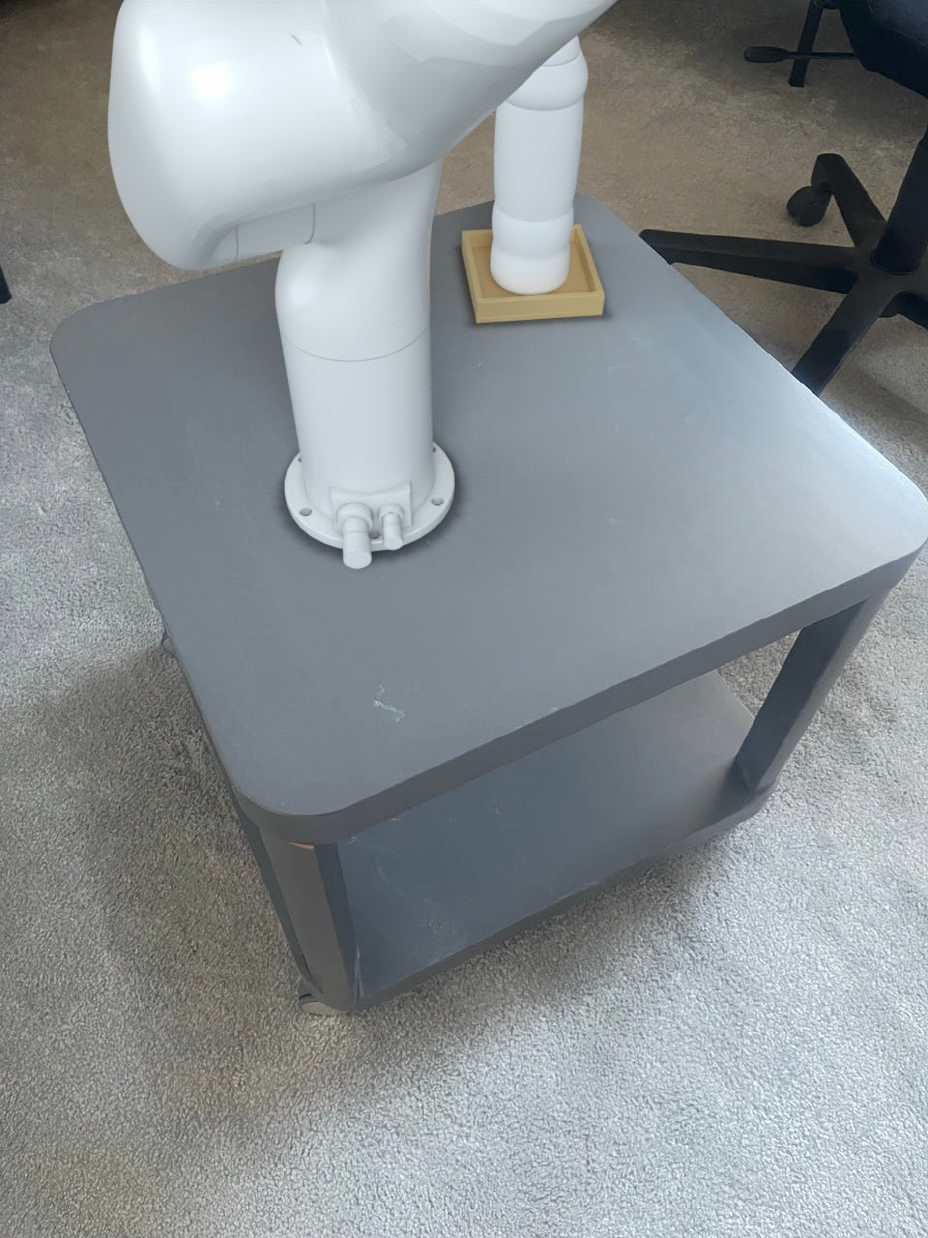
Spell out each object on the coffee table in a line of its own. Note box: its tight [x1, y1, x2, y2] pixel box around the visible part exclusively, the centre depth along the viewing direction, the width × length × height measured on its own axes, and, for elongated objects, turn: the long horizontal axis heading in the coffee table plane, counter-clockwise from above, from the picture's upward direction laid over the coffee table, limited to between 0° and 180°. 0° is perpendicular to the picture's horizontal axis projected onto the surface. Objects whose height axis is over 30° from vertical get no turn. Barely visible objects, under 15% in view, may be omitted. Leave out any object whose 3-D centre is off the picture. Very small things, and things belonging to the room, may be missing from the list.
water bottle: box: [490, 34, 589, 296], centre depth 81 cm, size 7×7×25 cm
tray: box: [461, 223, 606, 324], centre depth 91 cm, size 11×11×2 cm
